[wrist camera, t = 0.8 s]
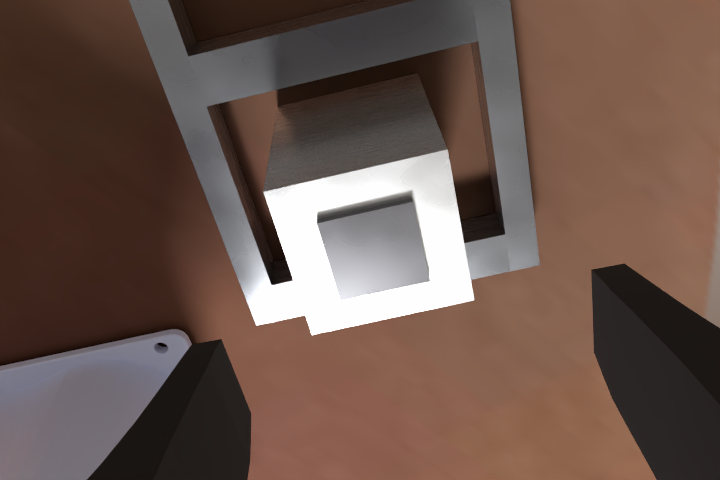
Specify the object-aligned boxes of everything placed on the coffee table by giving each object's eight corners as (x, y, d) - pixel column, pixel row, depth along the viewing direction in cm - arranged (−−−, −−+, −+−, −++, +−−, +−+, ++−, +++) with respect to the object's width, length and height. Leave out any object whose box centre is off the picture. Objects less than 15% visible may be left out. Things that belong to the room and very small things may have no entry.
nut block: (314, 226, 24) (312, 339, 19) (277, 106, 22) (262, 195, 16) (441, 197, 23) (475, 304, 18) (417, 72, 21) (448, 152, 16)
